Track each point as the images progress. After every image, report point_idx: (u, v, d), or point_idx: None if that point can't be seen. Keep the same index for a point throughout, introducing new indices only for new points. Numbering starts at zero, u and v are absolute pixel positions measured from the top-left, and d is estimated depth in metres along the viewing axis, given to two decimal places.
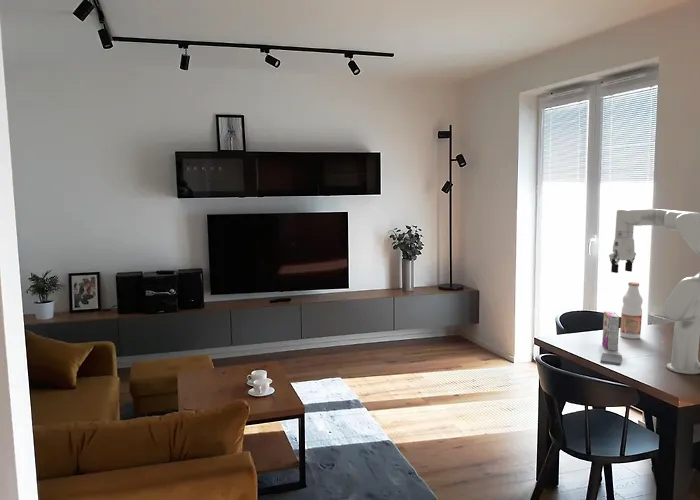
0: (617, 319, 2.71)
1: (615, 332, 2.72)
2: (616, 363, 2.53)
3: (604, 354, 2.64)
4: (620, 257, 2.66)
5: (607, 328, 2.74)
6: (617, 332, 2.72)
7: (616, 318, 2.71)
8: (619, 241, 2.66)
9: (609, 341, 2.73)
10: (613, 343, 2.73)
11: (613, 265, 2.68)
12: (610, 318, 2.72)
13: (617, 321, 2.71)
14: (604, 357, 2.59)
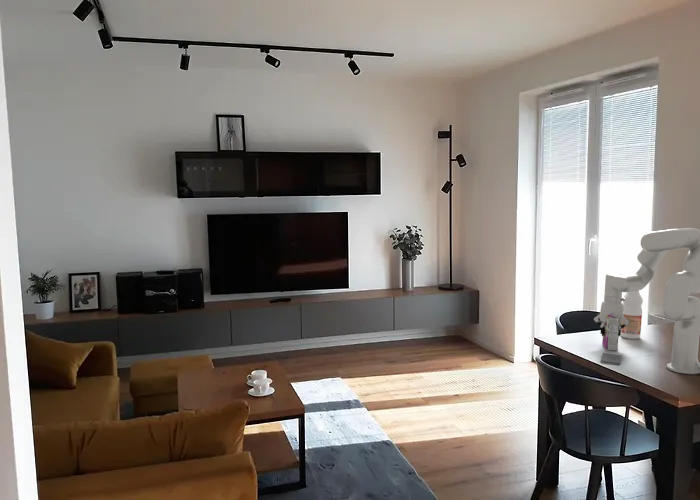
0: (617, 319, 2.71)
1: (615, 332, 2.72)
2: (616, 363, 2.53)
3: (604, 354, 2.64)
4: None
5: (607, 328, 2.74)
6: (617, 332, 2.72)
7: (616, 318, 2.71)
8: None
9: (609, 341, 2.73)
10: (613, 343, 2.73)
11: (620, 330, 2.76)
12: (610, 318, 2.72)
13: (617, 321, 2.71)
14: (604, 357, 2.59)
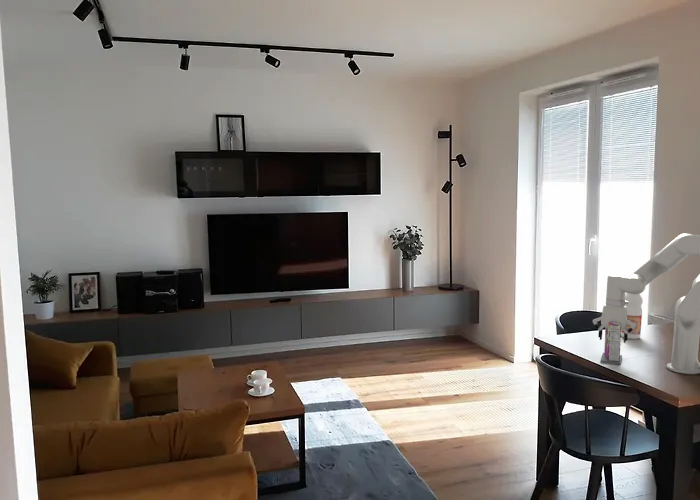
0: (618, 327, 2.52)
1: (617, 342, 2.53)
2: (616, 363, 2.53)
3: (604, 354, 2.64)
4: None
5: (608, 337, 2.55)
6: (619, 341, 2.52)
7: (617, 326, 2.52)
8: None
9: (610, 351, 2.54)
10: (614, 353, 2.54)
11: (627, 335, 2.55)
12: (611, 326, 2.53)
13: (618, 329, 2.52)
14: (604, 357, 2.59)
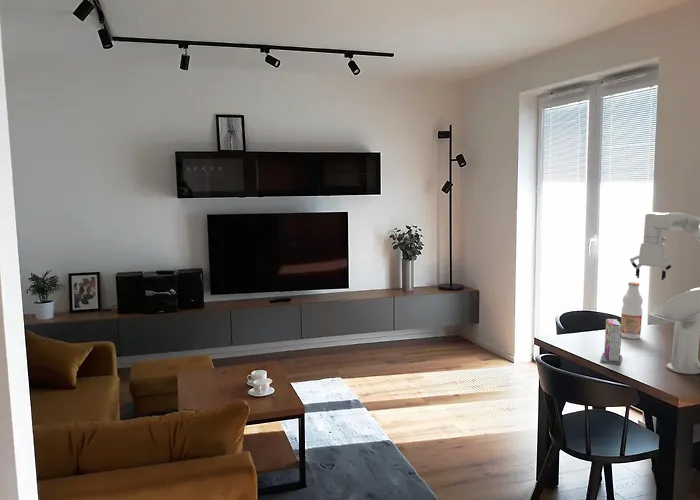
0: (619, 327, 2.52)
1: (617, 342, 2.53)
2: (616, 363, 2.53)
3: (604, 354, 2.64)
4: None
5: (608, 337, 2.55)
6: (619, 341, 2.52)
7: (618, 326, 2.52)
8: None
9: (610, 351, 2.54)
10: (614, 353, 2.54)
11: (665, 272, 2.55)
12: (611, 326, 2.53)
13: (619, 329, 2.52)
14: (604, 357, 2.59)
